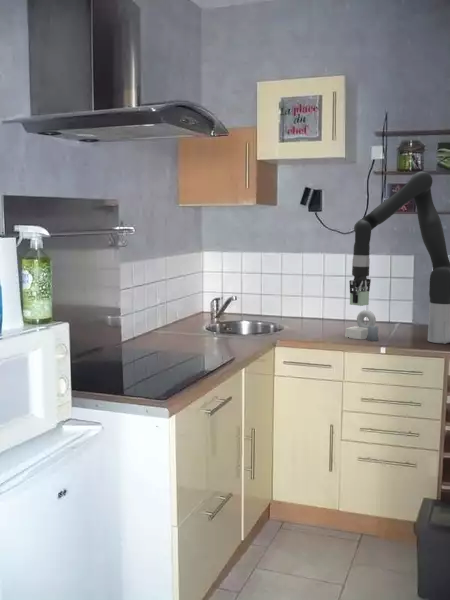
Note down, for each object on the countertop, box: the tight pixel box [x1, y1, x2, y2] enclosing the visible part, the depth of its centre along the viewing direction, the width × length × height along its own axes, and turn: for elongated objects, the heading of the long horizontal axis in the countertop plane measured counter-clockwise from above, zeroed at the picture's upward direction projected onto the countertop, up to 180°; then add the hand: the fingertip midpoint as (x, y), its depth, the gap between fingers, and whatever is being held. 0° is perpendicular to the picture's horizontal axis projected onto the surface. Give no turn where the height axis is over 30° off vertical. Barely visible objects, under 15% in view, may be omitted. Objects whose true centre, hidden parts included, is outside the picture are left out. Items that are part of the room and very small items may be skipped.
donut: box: [356, 309, 377, 328], centre depth 312 cm, size 10×4×10 cm, turn 46°
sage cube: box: [349, 290, 370, 307], centre depth 293 cm, size 6×6×6 cm
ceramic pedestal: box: [344, 325, 368, 340], centre depth 295 cm, size 8×8×4 cm
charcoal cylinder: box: [366, 325, 379, 342], centre depth 289 cm, size 5×5×6 cm
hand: (359, 302), depth 293 cm, fingers closed on sage cube, 6 cm apart
